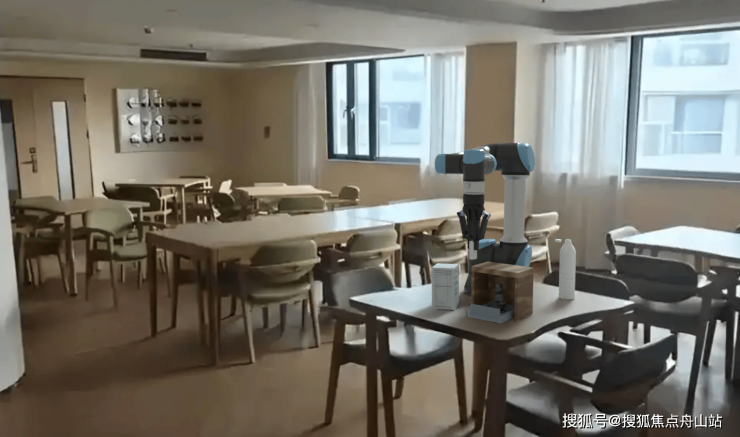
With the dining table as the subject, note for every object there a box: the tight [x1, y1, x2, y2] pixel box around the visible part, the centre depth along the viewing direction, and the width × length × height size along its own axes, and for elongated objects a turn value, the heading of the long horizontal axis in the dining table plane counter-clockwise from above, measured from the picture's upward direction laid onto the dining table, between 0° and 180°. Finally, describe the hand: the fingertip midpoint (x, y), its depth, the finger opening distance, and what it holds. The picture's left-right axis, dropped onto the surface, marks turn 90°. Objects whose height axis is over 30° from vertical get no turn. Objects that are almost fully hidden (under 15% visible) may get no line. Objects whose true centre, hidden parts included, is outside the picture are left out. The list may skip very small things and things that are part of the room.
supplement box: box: [431, 262, 460, 311], centre depth 263 cm, size 10×9×17 cm
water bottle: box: [554, 238, 577, 301], centre depth 274 cm, size 9×6×25 cm
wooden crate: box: [470, 262, 535, 321], centre depth 253 cm, size 20×12×18 cm, turn 49°
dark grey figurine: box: [492, 281, 507, 313], centre depth 252 cm, size 6×6×12 cm
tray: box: [467, 301, 515, 324], centre depth 250 cm, size 14×17×5 cm
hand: (473, 258), depth 235 cm, fingers closed
